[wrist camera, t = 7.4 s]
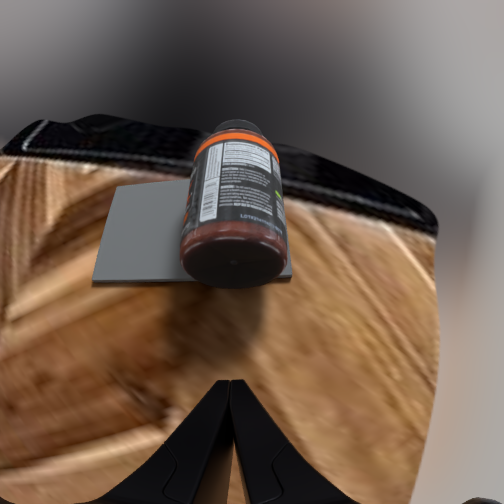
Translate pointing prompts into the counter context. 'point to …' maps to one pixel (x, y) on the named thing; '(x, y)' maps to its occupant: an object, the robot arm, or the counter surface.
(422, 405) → the counter surface
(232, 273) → the supplement bottle
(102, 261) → the pad
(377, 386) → the counter surface
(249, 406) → the robot arm
